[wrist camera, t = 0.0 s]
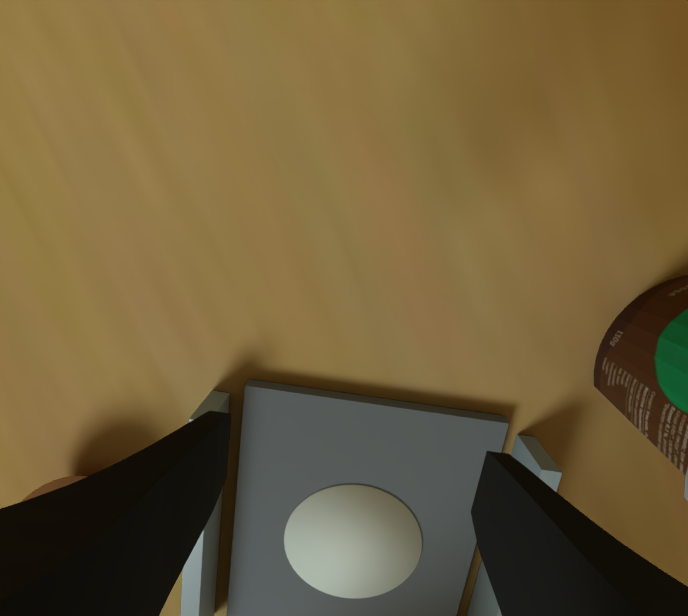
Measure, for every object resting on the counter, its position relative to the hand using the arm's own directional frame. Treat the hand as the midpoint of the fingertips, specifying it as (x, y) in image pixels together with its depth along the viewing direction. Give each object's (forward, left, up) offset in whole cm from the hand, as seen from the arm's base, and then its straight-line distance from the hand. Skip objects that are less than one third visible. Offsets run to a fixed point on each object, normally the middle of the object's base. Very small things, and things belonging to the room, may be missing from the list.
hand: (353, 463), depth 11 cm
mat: (-12, -2, -10) cm, 16 cm away
